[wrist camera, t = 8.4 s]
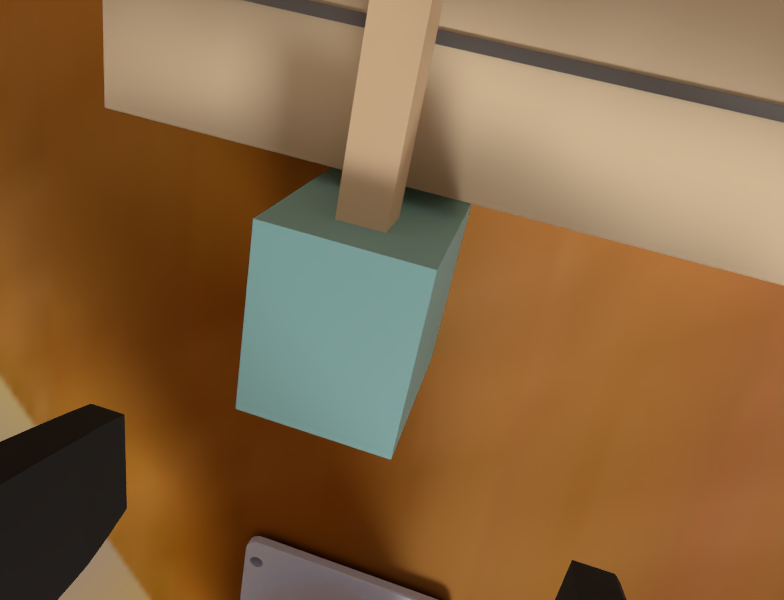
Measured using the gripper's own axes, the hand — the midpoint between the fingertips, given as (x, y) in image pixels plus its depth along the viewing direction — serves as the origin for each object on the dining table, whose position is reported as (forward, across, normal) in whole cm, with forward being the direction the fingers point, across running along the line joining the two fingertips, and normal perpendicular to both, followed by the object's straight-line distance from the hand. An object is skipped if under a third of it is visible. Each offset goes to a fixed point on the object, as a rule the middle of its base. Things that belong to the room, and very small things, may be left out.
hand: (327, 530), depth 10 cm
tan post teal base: (+10, +2, -4) cm, 11 cm away
